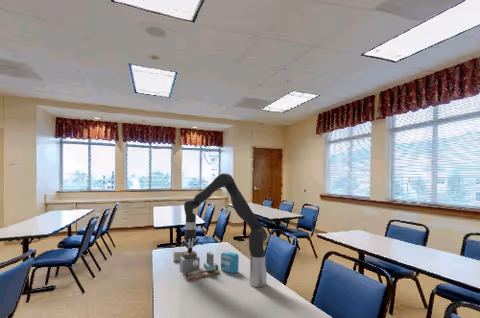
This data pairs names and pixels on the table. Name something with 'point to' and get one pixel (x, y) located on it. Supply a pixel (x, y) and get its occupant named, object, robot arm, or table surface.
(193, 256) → the grey dispenser housing
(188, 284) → the table surface
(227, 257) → the data package
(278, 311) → the table surface
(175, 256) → the model
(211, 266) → the carriage
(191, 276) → the rail base
